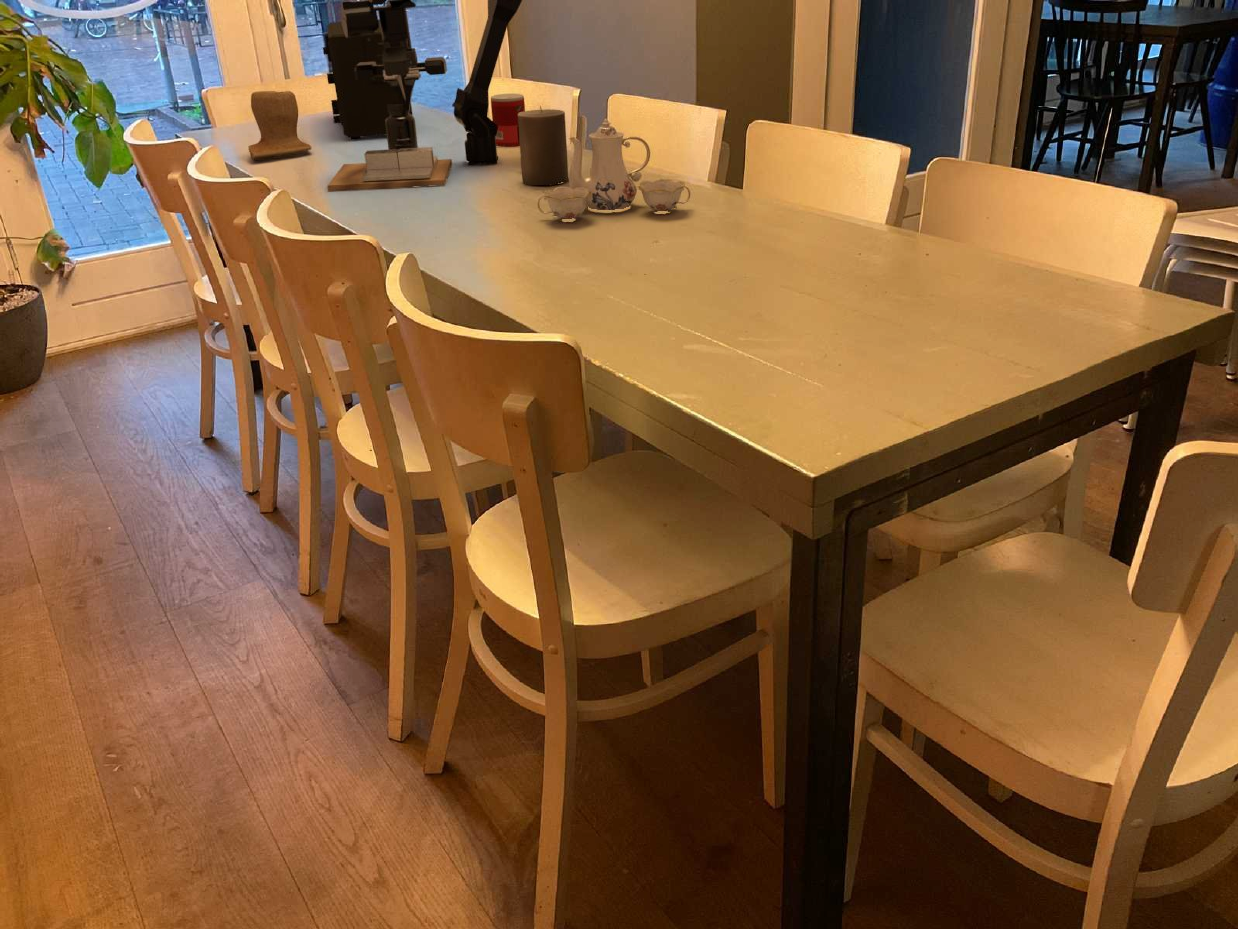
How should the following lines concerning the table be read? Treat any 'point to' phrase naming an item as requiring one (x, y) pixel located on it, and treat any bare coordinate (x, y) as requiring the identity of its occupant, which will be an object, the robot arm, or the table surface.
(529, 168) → the pillar candle
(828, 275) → the table surface
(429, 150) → the fixed leaf
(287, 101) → the brown chair-shaped stand
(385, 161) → the loose leaf
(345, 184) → the board
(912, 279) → the table surface
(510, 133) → the canned food
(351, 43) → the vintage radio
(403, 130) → the supplement bottle
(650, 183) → the chinaware
